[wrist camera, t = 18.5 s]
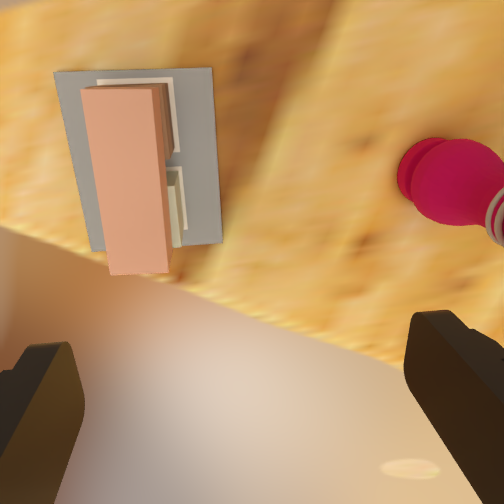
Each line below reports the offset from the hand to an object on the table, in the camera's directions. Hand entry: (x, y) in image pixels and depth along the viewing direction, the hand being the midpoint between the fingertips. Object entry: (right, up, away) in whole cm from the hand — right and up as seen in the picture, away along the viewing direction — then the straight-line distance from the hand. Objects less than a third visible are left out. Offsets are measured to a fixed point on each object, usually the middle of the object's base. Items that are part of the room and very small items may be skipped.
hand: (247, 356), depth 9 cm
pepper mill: (+17, +10, +29) cm, 35 cm away
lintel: (-8, +8, +19) cm, 23 cm away
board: (-9, +10, +25) cm, 29 cm away
